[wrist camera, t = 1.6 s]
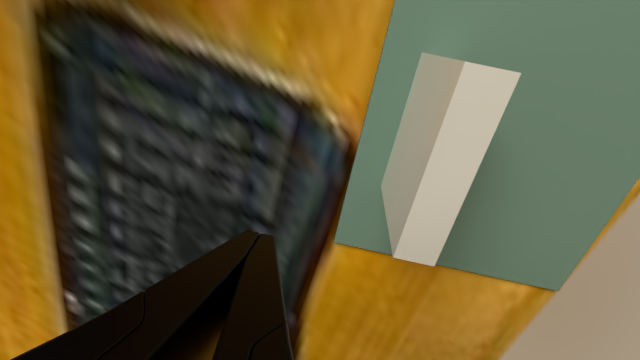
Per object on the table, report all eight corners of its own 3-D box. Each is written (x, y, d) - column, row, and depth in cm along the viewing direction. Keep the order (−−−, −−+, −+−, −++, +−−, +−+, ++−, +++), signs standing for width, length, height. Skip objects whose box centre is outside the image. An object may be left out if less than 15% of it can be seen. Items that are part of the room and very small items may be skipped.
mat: (554, 287, 22) (558, 291, 21) (334, 238, 22) (334, 242, 22) (757, -3, 14) (767, -4, 14) (412, -72, 14) (414, -74, 14)
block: (411, 192, 19) (439, 267, 13) (380, 186, 19) (393, 257, 13) (459, 60, 16) (527, 74, 10) (422, 52, 16) (465, 61, 10)
